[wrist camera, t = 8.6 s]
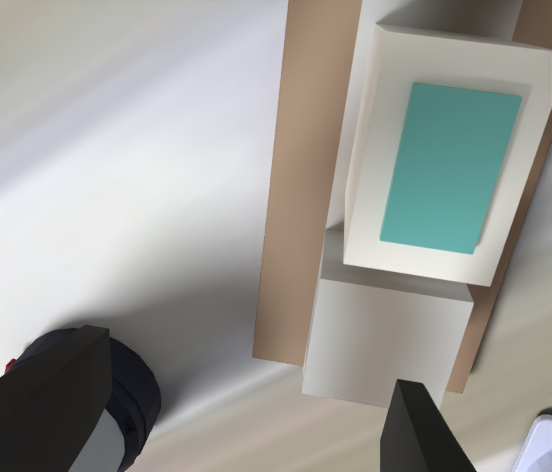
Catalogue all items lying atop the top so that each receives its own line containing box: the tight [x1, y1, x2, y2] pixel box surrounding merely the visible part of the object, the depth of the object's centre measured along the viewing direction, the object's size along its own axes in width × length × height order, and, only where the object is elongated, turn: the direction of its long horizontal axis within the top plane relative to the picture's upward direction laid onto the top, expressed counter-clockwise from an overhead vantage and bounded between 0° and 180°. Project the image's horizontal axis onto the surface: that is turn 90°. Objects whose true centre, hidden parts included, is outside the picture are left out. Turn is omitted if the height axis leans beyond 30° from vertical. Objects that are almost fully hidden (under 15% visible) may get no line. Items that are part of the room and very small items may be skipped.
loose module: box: [343, 23, 552, 287], centre depth 15 cm, size 4×6×6 cm, turn 174°
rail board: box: [252, 0, 552, 410], centre depth 17 cm, size 10×24×6 cm, turn 174°
